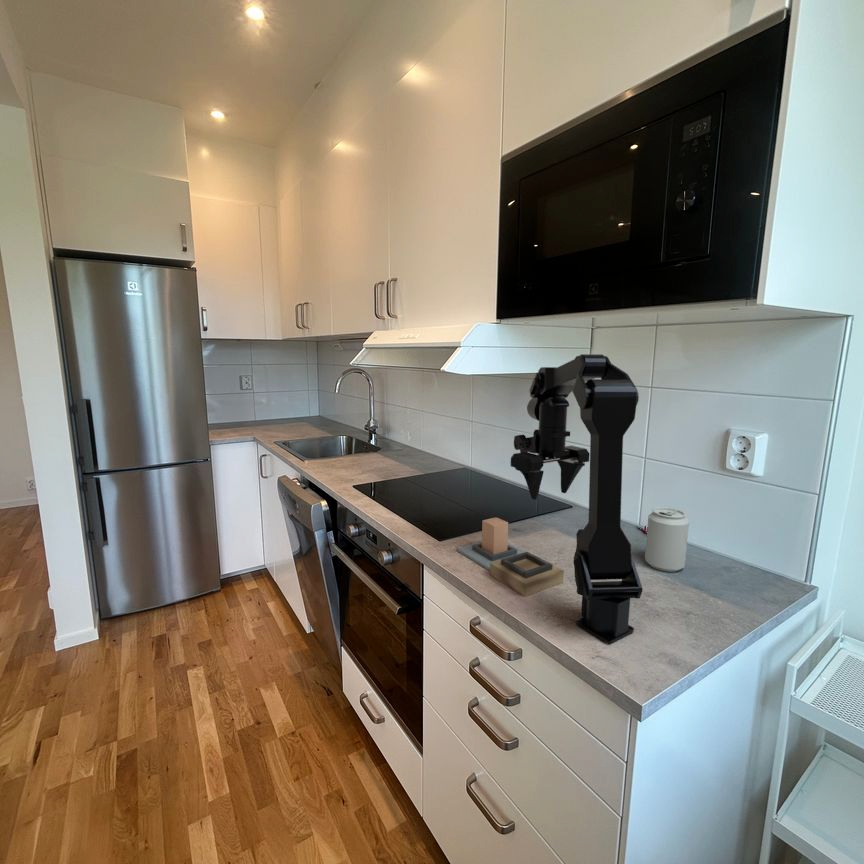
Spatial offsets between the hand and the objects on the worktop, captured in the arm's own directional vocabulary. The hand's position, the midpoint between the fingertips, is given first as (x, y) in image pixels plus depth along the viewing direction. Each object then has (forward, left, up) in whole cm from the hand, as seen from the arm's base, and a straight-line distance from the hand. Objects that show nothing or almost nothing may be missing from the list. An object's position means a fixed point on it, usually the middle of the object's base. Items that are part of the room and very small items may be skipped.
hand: (549, 495), depth 100 cm
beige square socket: (-7, +13, -13) cm, 20 cm away
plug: (+5, +11, -12) cm, 17 cm away
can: (-18, -16, -13) cm, 27 cm away
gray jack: (+5, +11, -13) cm, 18 cm away
